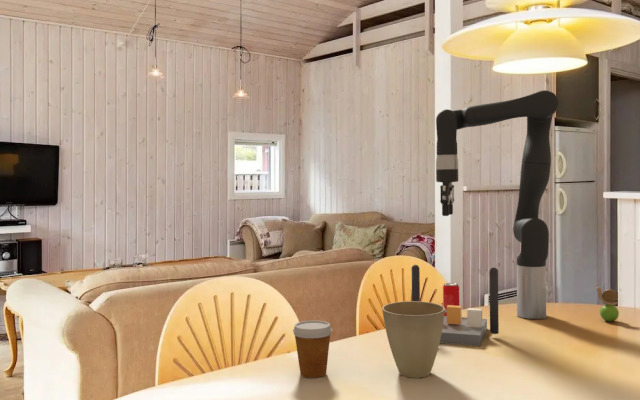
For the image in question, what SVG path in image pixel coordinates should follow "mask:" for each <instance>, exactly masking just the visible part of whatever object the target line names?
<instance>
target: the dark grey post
mask: <svg viewBox="0 0 640 400" xmlns="http://www.w3.org/2000/svg"><path fill="white" fill-rule="evenodd" d="M488 271H489V274H488V275H489V333H490V334H491V335H499V332H500V329H499V270H498V268H496V267H491V268H490V269H489V270H488Z"/></svg>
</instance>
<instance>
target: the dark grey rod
mask: <svg viewBox="0 0 640 400" xmlns="http://www.w3.org/2000/svg"><path fill="white" fill-rule="evenodd" d="M420 272H421V271H420V266H419V265H418V264H413V265H412V266H411V301H420V302H421V294H420V293H421V292H420V291H421V289H420V288H421V284H420V282H421V281H420V280H421V277H420Z"/></svg>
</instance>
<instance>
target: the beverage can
mask: <svg viewBox="0 0 640 400" xmlns="http://www.w3.org/2000/svg"><path fill="white" fill-rule="evenodd" d="M442 301H443V303H442V304H443V305H442V306H443V307H444V308H445V313H444V316H447V306H448V305H453V306H460V286H459V284H458V283H457V282H456V283H455V282H445V283H443V286H442Z"/></svg>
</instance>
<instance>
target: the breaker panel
mask: <svg viewBox="0 0 640 400" xmlns="http://www.w3.org/2000/svg"><path fill="white" fill-rule="evenodd" d="M466 313H467V316H466V317H462V323H461V324H447V316H444V320H443V328H442V334H441V339H440V343H439V344H449V345H450V344H452V345H461V346H462V345H463V346H473V347H474V346H475V347H480V346H481V344H482V343H483V340H484V337H485V334H486V332H487V329H488V318H483V308H473V307H471V308H470V307H468V308H467V310H466Z"/></svg>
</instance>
